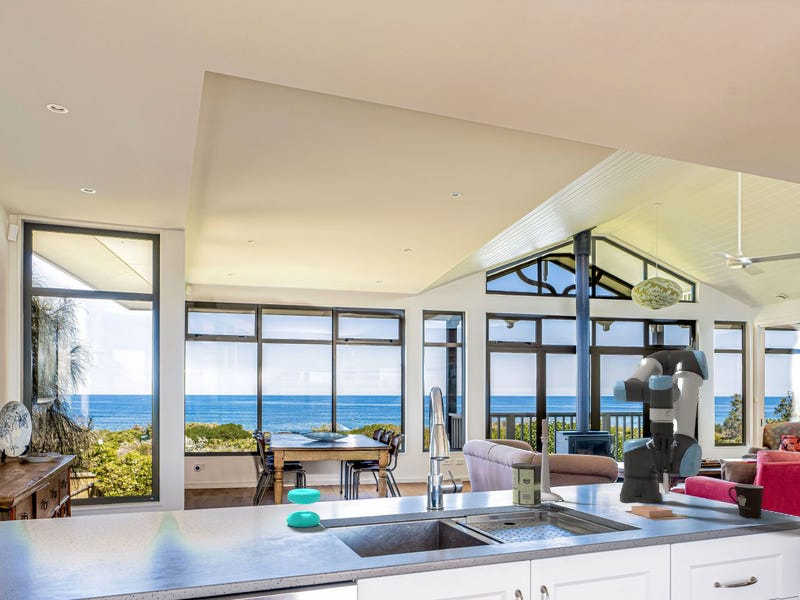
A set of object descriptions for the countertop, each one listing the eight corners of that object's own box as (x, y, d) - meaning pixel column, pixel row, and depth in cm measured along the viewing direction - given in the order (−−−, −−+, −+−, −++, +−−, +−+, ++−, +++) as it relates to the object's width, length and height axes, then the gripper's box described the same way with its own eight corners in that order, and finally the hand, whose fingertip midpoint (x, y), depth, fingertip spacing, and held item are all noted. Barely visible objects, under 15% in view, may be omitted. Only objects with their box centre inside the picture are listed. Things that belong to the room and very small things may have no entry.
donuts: (318, 487, 213) (323, 492, 204) (317, 520, 212) (322, 527, 203) (286, 488, 211) (289, 493, 201) (285, 521, 210) (287, 528, 200)
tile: (654, 511, 232) (631, 512, 230) (653, 505, 233) (631, 506, 230) (672, 516, 224) (649, 517, 221) (672, 509, 224) (649, 511, 221)
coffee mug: (769, 519, 225) (768, 488, 226) (743, 519, 225) (741, 487, 226) (752, 512, 236) (751, 483, 237) (727, 512, 236) (725, 482, 238)
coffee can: (532, 501, 252) (532, 462, 254) (546, 506, 242) (546, 466, 244) (507, 502, 249) (506, 463, 251) (519, 508, 239) (519, 466, 241)
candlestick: (561, 497, 264) (560, 417, 267) (565, 502, 251) (563, 419, 255) (527, 495, 265) (526, 417, 269) (529, 501, 253) (528, 418, 256)
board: (623, 513, 231) (623, 511, 232) (658, 511, 236) (658, 509, 236) (655, 523, 216) (655, 520, 216) (691, 520, 221) (691, 518, 221)
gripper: (653, 422, 226) (655, 495, 224) (685, 422, 230) (688, 494, 228) (638, 420, 233) (640, 492, 231) (670, 420, 237) (672, 490, 235)
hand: (664, 493), depth 229 cm, fingers closed
